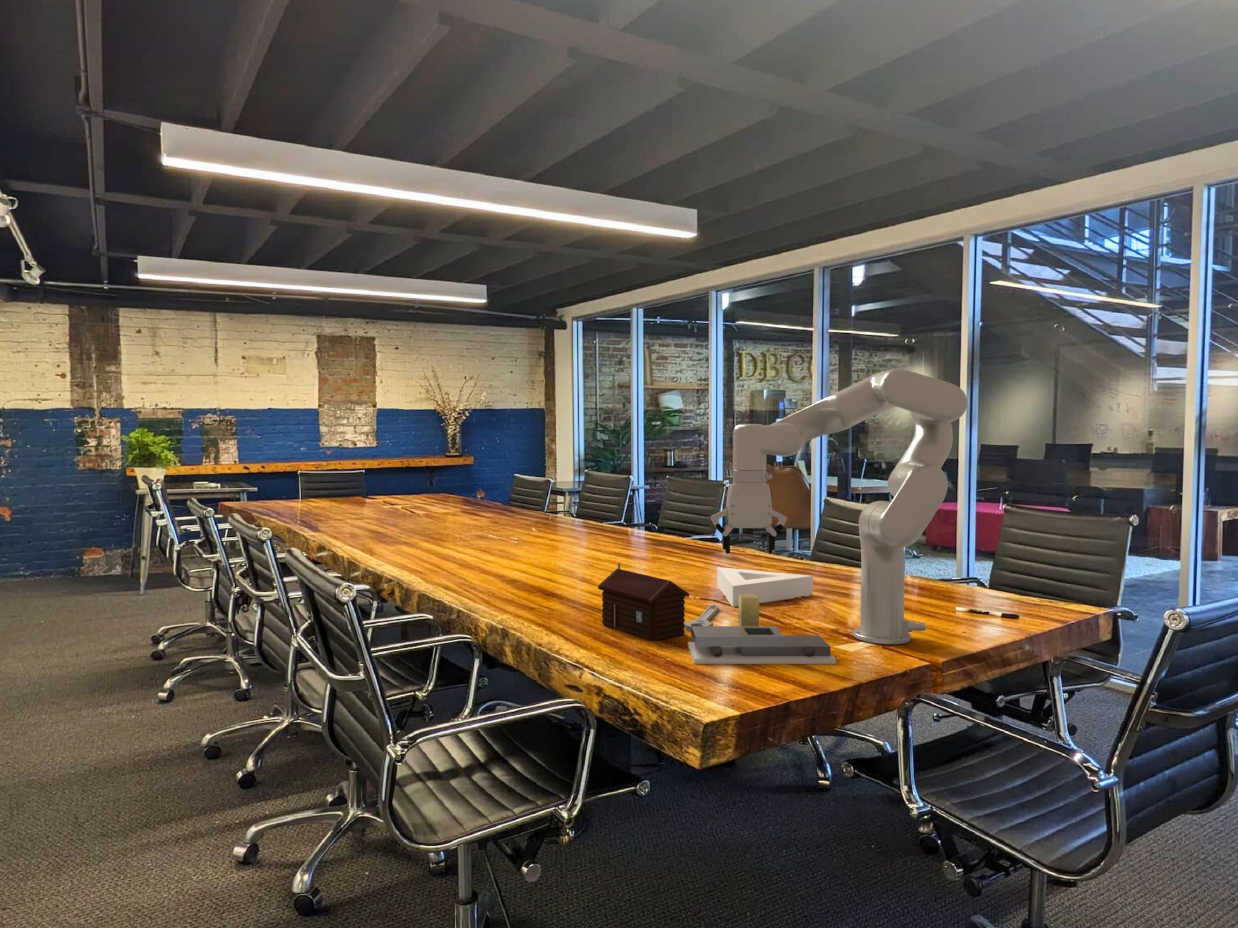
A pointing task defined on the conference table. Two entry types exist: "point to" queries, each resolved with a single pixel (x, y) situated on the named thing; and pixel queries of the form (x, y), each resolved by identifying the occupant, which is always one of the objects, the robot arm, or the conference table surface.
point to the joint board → (750, 657)
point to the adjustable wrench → (703, 618)
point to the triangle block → (762, 584)
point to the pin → (748, 610)
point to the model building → (643, 605)
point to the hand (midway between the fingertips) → (748, 552)
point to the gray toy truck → (758, 641)
